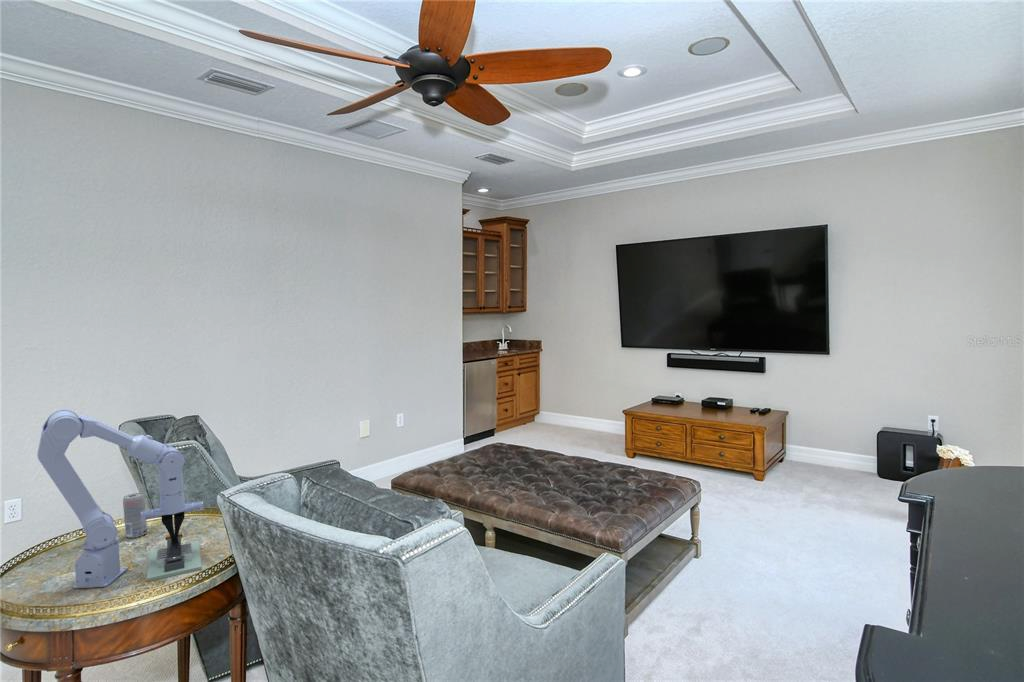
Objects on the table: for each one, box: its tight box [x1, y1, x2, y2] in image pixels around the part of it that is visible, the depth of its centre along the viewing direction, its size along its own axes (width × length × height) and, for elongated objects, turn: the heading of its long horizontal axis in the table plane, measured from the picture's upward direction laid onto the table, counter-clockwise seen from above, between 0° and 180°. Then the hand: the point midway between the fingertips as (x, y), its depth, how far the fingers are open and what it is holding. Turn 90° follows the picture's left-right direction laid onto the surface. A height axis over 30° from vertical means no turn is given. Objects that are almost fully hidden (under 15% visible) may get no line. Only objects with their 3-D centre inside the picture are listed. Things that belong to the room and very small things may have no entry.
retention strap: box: [165, 531, 184, 563], centre depth 149 cm, size 13×4×1 cm, turn 31°
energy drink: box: [122, 492, 148, 539], centre depth 166 cm, size 5×5×12 cm
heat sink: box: [156, 542, 192, 568], centre depth 149 cm, size 8×8×2 cm
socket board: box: [146, 540, 202, 582], centre depth 149 cm, size 18×12×5 cm, turn 31°
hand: (174, 540), depth 151 cm, fingers closed, pressing on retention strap
